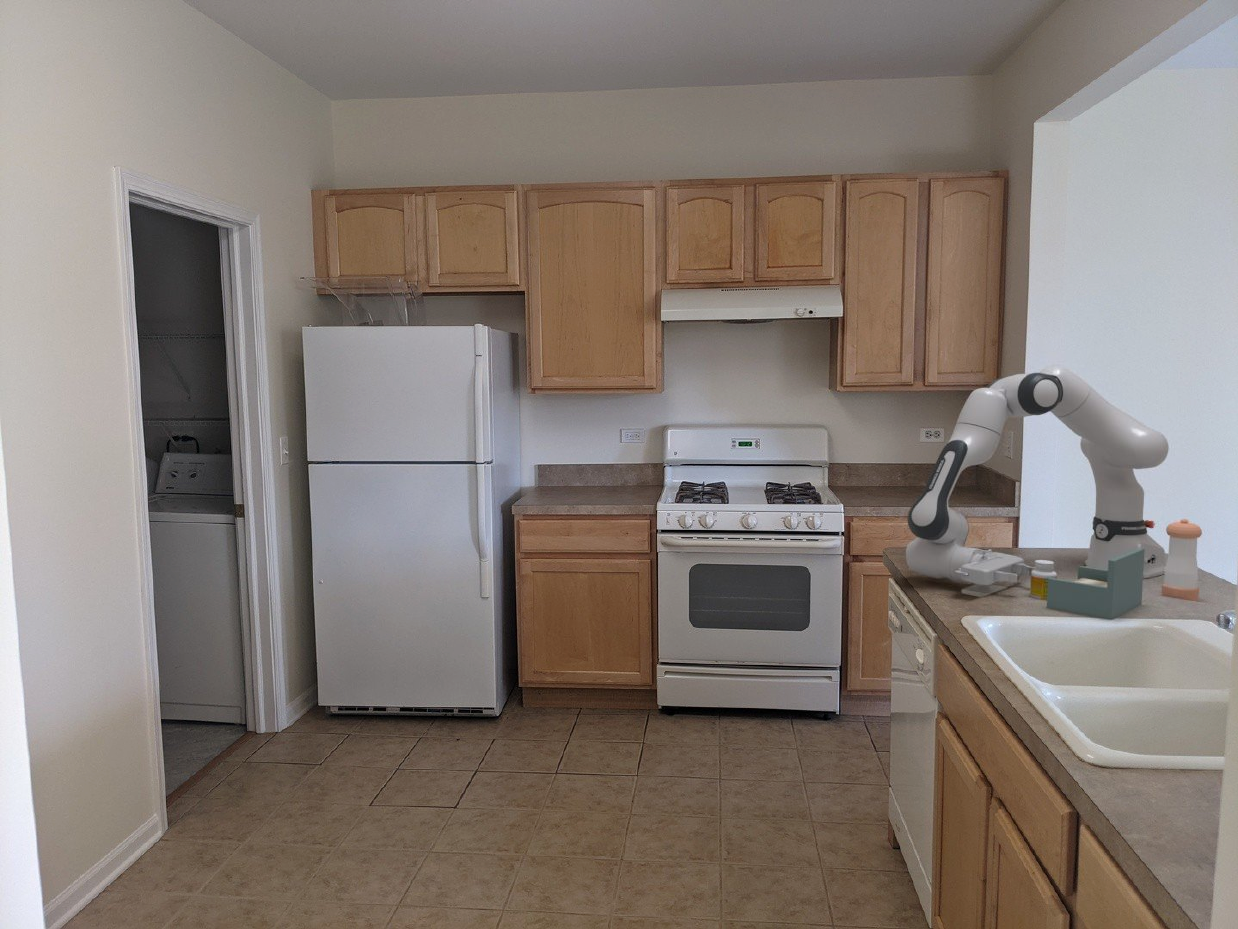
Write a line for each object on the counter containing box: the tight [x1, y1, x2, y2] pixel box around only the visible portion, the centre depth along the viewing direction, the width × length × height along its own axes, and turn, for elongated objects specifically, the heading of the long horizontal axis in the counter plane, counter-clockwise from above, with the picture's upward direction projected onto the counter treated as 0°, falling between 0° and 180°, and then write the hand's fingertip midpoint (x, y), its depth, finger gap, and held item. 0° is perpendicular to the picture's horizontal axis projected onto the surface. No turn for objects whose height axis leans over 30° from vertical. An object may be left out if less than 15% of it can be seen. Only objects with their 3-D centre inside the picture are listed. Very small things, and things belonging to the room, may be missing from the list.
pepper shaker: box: [1161, 518, 1203, 603], centre depth 205 cm, size 7×7×19 cm
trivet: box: [961, 583, 1008, 598], centre depth 213 cm, size 10×10×1 cm
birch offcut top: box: [1073, 578, 1107, 587], centre depth 196 cm, size 9×11×2 cm
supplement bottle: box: [1029, 559, 1058, 601], centre depth 204 cm, size 5×5×10 cm
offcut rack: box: [1046, 548, 1145, 621], centre depth 196 cm, size 13×18×14 cm
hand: (1026, 575), depth 207 cm, fingers open, 8 cm apart
